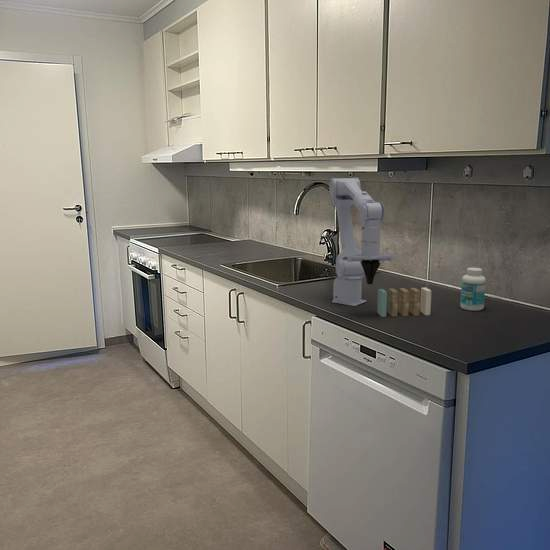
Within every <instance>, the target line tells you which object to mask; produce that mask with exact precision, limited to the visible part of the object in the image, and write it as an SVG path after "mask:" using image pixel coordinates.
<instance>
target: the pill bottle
mask: <svg viewBox="0 0 550 550" xmlns="http://www.w3.org/2000/svg"><path fill="white" fill-rule="evenodd" d="M466 273H467V274H465V275H463V276H462V277H461V289H460V301H459V305H460V308H461V309H463V310H465V311H475V312H477V311H482V310H483V309H484V307H485V296H486V284H487V283H486V281H487V280H486V279H487V278H486V277H485V276H484V275H482V273H483V268H479V267H467V268H466Z"/></svg>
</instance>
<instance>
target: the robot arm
mask: <svg viewBox="0 0 550 550" xmlns="http://www.w3.org/2000/svg"><path fill="white" fill-rule="evenodd" d="M328 187H329V188H328V192H329V198H330V202H331V205H333V206H335V210H336V215H337V222H338V228H339V229H338V230H339V237H340V244H341V252H339V254H338V255H337V256H336V258H335V273H336V275H337V277H335V279H334V280H333V285H332V286H333V288H332V289H333V293H332V295H333V298H332V301H331V303H334V304H340V305H341V304H342V305H346V306H351V307H357V306H359V305H361V304H365V303H366V302H367V300H366V299H362V287H363V286H362V283H363V280H362V279H364V276H365V279H366V280H365V281H366V284H367V285H373V284H374V279H375V276H376V273H377V272H378V269H379V268H380V266H381V262H389V261H390V262H394V258H395V257H394V256H395V255H394V254H392V253H390V254H389V253H381V250H380V249H381V222H382V221H383V219H384V217H385V208H384V204H383V202H382V201H377V202H376V201H375V200H374V199H373V198H372V197H371V195H370V194H368V192H367V191H362V189H361V188H362V187H361V181H360V179H359V177H351V178H349V177H346V178H345V177H343V178H342V177H341V178H340V177H339V178H337V177H336V178H335V177H332V178H331V180H330V181H329V186H328ZM351 206H354V207H355V208H356V210H357V211H358V217H359V220H360V221H359V222H360V223H359V224H360V227H361V245H360V246H361V250H359V249H358V248H357V243H356V238H355V237H356V236H355V232H354V225H353V217H352V212H351V211H352V210H351Z"/></svg>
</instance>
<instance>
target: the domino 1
mask: <svg viewBox="0 0 550 550" xmlns="http://www.w3.org/2000/svg"><path fill="white" fill-rule="evenodd" d="M387 303H388V291H386V290H385V289H384V288H378V289H377V312H376V313H377V314H378V315H379V316H380V317H382V318H385V317H387V310H388V309H387V307H388V306H387V305H388V304H387Z"/></svg>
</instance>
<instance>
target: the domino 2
mask: <svg viewBox="0 0 550 550" xmlns="http://www.w3.org/2000/svg"><path fill="white" fill-rule="evenodd" d="M387 303H388V304H387V305H388V306H387V307H388V309H387V313H388V314H390V316H391V317H398V312H399V291H397V289H395V288H388V300H387Z"/></svg>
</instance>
